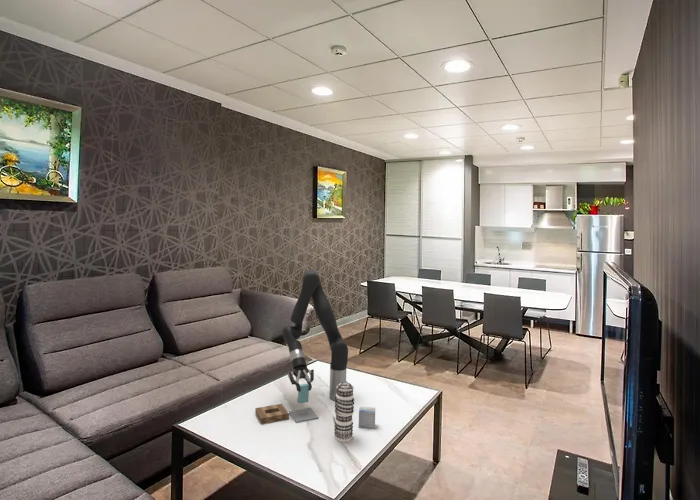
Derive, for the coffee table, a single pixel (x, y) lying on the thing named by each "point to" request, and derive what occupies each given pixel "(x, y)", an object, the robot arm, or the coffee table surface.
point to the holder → (271, 413)
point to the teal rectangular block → (303, 393)
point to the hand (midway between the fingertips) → (304, 390)
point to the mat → (303, 415)
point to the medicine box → (367, 417)
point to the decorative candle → (344, 412)
